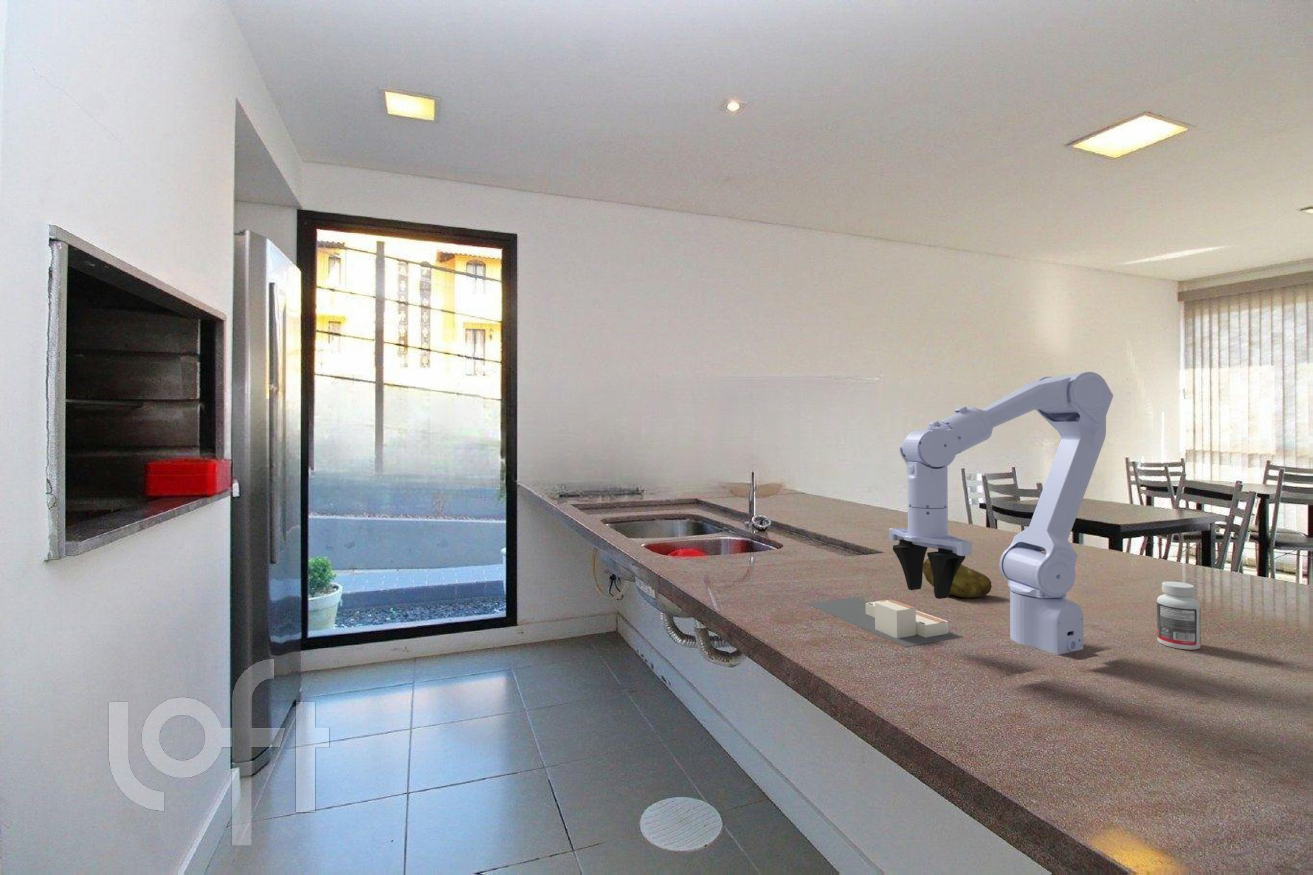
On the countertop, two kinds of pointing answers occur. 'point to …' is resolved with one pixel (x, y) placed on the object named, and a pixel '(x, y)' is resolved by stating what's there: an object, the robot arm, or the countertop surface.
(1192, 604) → the pill bottle
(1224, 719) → the countertop surface
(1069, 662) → the countertop surface
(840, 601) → the mat
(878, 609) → the stub
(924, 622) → the cream striped bar
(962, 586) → the potato
